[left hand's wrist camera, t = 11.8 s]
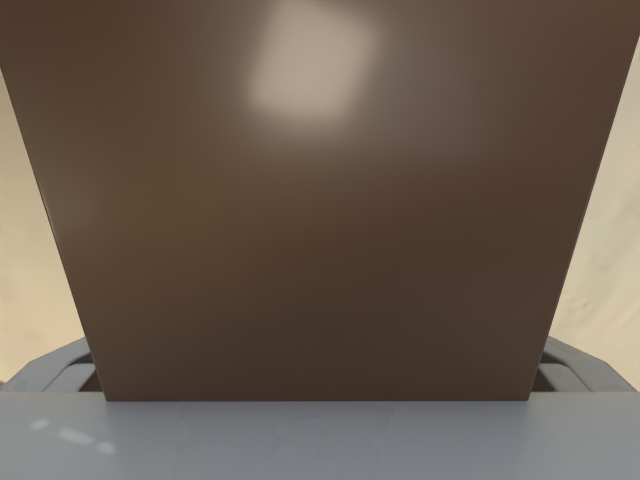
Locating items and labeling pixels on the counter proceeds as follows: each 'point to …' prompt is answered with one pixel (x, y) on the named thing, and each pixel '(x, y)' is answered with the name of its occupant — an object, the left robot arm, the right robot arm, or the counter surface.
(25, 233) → the counter surface
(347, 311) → the box
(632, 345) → the counter surface
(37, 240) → the counter surface
